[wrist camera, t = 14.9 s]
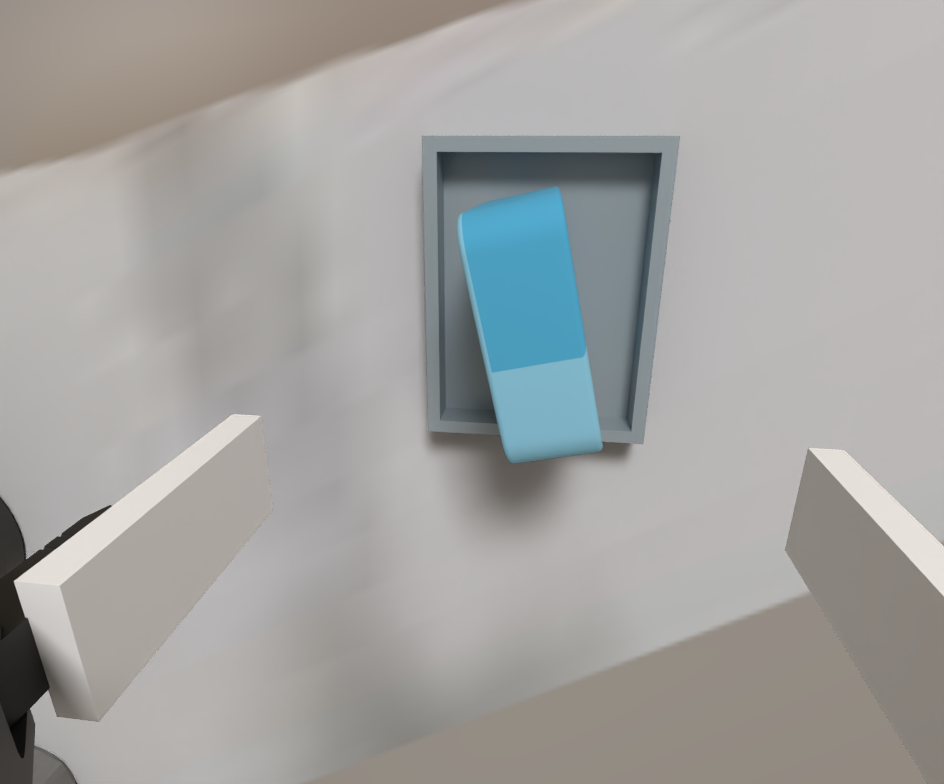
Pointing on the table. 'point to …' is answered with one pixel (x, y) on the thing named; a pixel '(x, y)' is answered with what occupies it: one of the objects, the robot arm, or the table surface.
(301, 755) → the table surface
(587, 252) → the tray
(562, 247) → the data package
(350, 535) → the table surface
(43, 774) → the coffeepot
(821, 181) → the table surface
